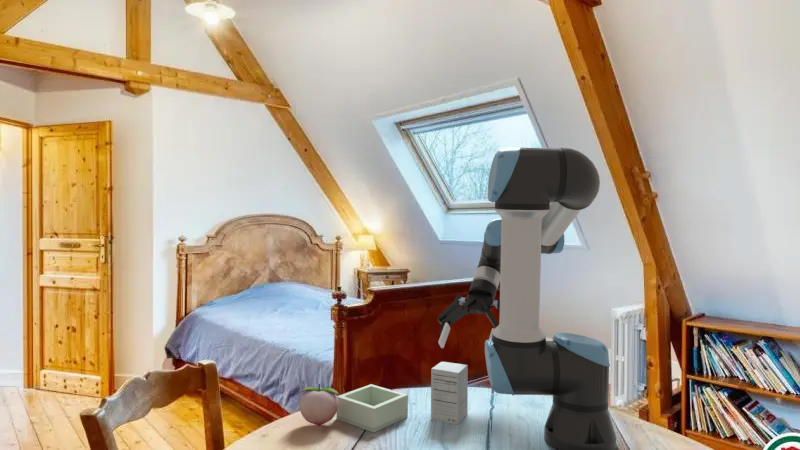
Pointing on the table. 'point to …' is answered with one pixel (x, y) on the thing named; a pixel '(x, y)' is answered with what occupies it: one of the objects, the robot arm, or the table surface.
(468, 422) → the table surface
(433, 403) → the supplement box
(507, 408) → the table surface
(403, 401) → the open square container
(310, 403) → the decorative fruit
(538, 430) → the table surface
